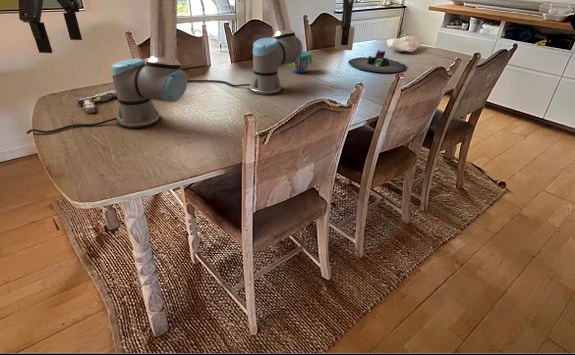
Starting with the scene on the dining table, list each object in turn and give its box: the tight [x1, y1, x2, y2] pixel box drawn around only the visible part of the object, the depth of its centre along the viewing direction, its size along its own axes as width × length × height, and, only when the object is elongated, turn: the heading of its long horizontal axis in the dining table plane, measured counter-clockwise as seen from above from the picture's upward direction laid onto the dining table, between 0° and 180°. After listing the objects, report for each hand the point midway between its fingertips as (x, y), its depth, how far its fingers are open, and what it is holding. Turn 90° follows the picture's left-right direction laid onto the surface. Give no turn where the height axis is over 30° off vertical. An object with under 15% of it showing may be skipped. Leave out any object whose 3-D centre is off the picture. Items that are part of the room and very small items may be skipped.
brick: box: [334, 25, 356, 51], centre depth 151 cm, size 6×7×8 cm
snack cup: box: [288, 50, 313, 74], centre depth 203 cm, size 16×10×10 cm
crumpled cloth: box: [385, 35, 422, 53], centre depth 256 cm, size 24×35×9 cm
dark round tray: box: [347, 49, 407, 74], centre depth 221 cm, size 35×35×9 cm
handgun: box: [76, 89, 118, 114], centre depth 155 cm, size 3×18×15 cm
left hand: (62, 45), depth 90 cm, fingers open, 13 cm apart
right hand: (343, 43), depth 152 cm, fingers closed on brick, 6 cm apart
